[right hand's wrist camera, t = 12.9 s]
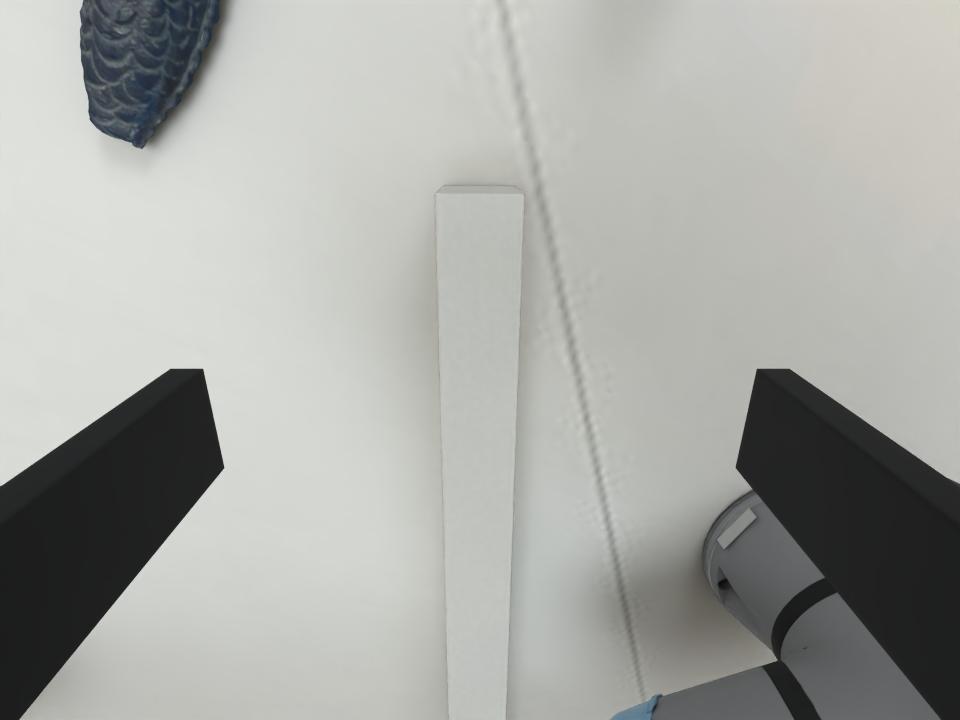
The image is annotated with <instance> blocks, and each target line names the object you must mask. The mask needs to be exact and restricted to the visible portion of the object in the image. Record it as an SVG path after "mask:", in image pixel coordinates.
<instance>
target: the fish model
mask: <svg viewBox="0 0 960 720" xmlns="http://www.w3.org/2000/svg"><path fill="white" fill-rule="evenodd" d="M80 17H81V23H82V25H81V28H80V37H81V41H80V48H81V62H82V66H83V69H84V82H85V88H86V91H87V94H88V100H89V111H88V112H89V116H90V120H91V122H92V123H93V124H94V125H95V127H96V128H97V129H99V130H100V131H101V132H103V133H105V134H107V135H109V136H111V137H114V138H117V139H122V140H124V141H127V142H131V143H132V144H133V146H135V147H137V148H140V149H142V148H143V147H144V146H145V145H146V141H147V139H148V138H149V137H151V136H153V135H154V130H155V128H156V127H157V125H159V124H160V123H162V122H163V121H165V119H166V116H167V113H168V111H169V110H171V109H173V108H174V107H175V106H176V105H178V104H179V102H180V101H181V93H182V92H183V91H185V90H186V89H187V88H188V87H189V86H190V84H191V83H192V77H193V72H194V70H195V69H196V68H197V67H198V66H199V65H200V62H201V54H202V50H203V49H205V48H207V46H208V44H209V42H210V40H211V27H212V25H213V23H215V22H217V21H218V19H219V0H83V5H82V8H81V10H80Z"/></svg>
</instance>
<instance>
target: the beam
mask: <svg viewBox="0 0 960 720" xmlns="http://www.w3.org/2000/svg"><path fill="white" fill-rule="evenodd" d="M524 197H525V195H524V193H523V192H522V191H520V190H519V189H518V188H517V187H516V186H443V187H442V188H441V189H439V190H438V191H437V192H436V193H435V227H436V264H437V302H438V340H439V377H440V415H441V453H442V490H443V528H444V566H445V603H446V641H447V679H448V716H449V720H506V708H507V680H508V651H509V623H510V595H511V566H512V538H513V509H514V481H515V453H516V424H517V396H518V368H519V339H520V311H521V282H522V254H523V226H524Z"/></svg>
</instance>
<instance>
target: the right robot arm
mask: <svg viewBox="0 0 960 720" xmlns="http://www.w3.org/2000/svg"><path fill="white" fill-rule="evenodd" d="M223 469H224V464H223V459H222V455H221V450H220V445H219V441H218V436H217V431H216V427H215V422H214V417H213V413H212V408H211V403H210V399H209V394H208V390H207V385H206V380H205V376H204V371H203V369H170V370H168V371H167V372H165V373H164V374H163V375H161V376H160V377H158V378H157V379H155V380H154V381H152V382H151V383H150V384H148V385H147V386H145V387H144V388H142V389H141V390H139V391H138V392H137V393H135V394H134V395H132V396H131V397H129V398H128V399H126V400H125V401H124V402H122V403H121V404H119V405H118V406H116V407H115V408H113V409H112V410H111V411H109V412H108V413H106V414H105V415H103V416H102V417H100V418H99V419H98V420H96V421H95V422H93V423H92V424H90V425H89V426H88V427H86V428H85V429H83V430H82V431H80V432H79V433H77V434H76V435H75V436H73V437H72V438H70V439H69V440H67V441H66V442H64V443H63V444H62V445H60V446H59V447H57V448H56V449H54V450H53V451H51V452H50V453H49V454H47V455H46V456H44V457H43V458H41V459H40V460H38V461H37V462H36V463H34V464H33V465H31V466H30V467H28V468H27V469H25V470H24V471H23V472H21V473H20V474H18V475H17V476H15V477H14V478H12V479H11V480H10V481H8V482H7V483H5V484H4V485H2V486H0V720H19V719H20V718H21V717H22V715H23V714H24V713H25V712H26V711H27V709H28V708H29V707H30V706H31V704H32V703H33V702H34V701H35V699H36V698H37V697H38V696H39V695H40V693H41V692H42V691H43V690H44V688H45V687H46V686H47V685H48V684H49V682H50V681H51V680H52V679H53V677H54V676H55V675H56V674H57V673H58V671H59V670H60V669H61V668H62V666H63V665H64V664H65V663H66V661H67V660H68V659H69V658H70V657H71V655H72V654H73V653H74V652H75V650H76V649H77V648H78V647H79V646H80V644H81V643H82V642H83V641H84V639H85V638H86V637H87V636H88V635H89V633H90V632H91V631H92V630H93V628H94V627H95V626H96V625H97V623H98V622H99V621H100V620H101V619H102V617H103V616H104V615H105V614H106V612H107V611H108V610H109V609H110V608H111V606H112V605H113V604H114V603H115V601H116V600H117V599H118V598H119V597H120V595H121V594H122V593H123V592H124V590H125V589H126V588H127V587H128V585H129V584H130V583H131V582H132V581H133V579H134V578H135V577H136V576H137V574H138V573H139V572H140V571H141V570H142V568H143V567H144V566H145V565H146V563H147V562H148V561H149V560H150V558H151V557H152V556H153V555H154V554H155V552H156V551H157V550H158V549H159V547H160V546H161V545H162V544H163V543H164V541H165V540H166V539H167V538H168V536H169V535H170V534H171V533H172V532H173V530H174V529H175V528H176V527H177V525H178V524H179V523H180V522H181V520H182V519H183V518H184V517H185V516H186V514H187V513H188V512H189V511H190V509H191V508H192V507H193V506H194V505H195V503H196V502H197V501H198V500H199V498H200V497H201V496H202V495H203V494H204V492H205V491H206V490H207V489H208V487H209V486H210V485H211V484H212V482H213V481H214V480H215V479H216V478H217V476H218V475H219V474H220V473H221V471H222V470H223ZM736 469H737V470H738V471H739V473H740V474H741V475H742V476H743V478H744V479H745V480H746V481H747V482H748V484H749V485H750V486H751V487H752V489H753V490H754V491H753V492H751V493H749V494H747V495H746V496H744V497H743V498H741V499H740V500H738V501H737V502H735V503H734V504H733V505H732V506H731V507H729V508H728V509H727V510H726V511H725V512H724V513H723V514H722V515H721V517H720V518H719V519H718V520H717V521H716V523H715V524H714V526H713V527H712V529H711V531H710V533H709V535H708V537H707V539H706V542H705V546H704V550H703V568H704V572H705V575H706V578H707V580H708V582H709V584H710V585H711V587H712V589H713V591H714V593H715V595H716V596H717V598H718V599H719V601H720V602H721V603H722V604H723V605H724V606H725V608H726V609H727V610H728V611H729V612H730V613H732V614H733V615H734V616H735V617H736V618H737V619H738V620H739V621H740V622H741V623H742V624H743V625H745V626H746V627H747V628H748V629H749V630H750V631H751V632H752V633H753V634H754V635H755V636H756V637H758V638H759V639H760V640H761V641H762V642H763V643H764V644H765V645H766V646H767V647H768V648H770V649H771V650H772V651H773V653H774V655H775V656H776V658H777V660H778V661H776V662H773V663H770V664H766V665H763V666H759V667H756V668H753V669H750V670H746V671H743V672H740V673H737V674H733V675H730V676H727V677H724V678H721V679H717V680H714V681H711V682H708V683H704V684H701V685H698V686H695V687H692V688H688V689H685V690H682V691H679V692H675V693H672V694H669V695H666V696H663V695H662V694H658V695H655V696H653V697H652V698H651V700H650V701H647V702H645V703H642V704H639V705H637V706H634V707H632V708H629V709H627V710H624V711H621V712H619V713H617V714H616V715H614V716H613V717H612V718H611V719H610V720H960V484H959V483H957V482H954V481H952V480H950V479H948V478H946V477H945V476H943V475H942V474H940V473H939V472H937V471H936V470H935V469H933V468H932V467H930V466H929V465H927V464H926V463H924V462H923V461H922V460H920V459H919V458H917V457H916V456H914V455H913V454H911V453H910V452H909V451H907V450H906V449H904V448H903V447H901V446H900V445H898V444H897V443H896V442H894V441H893V440H891V439H890V438H888V437H887V436H885V435H884V434H883V433H881V432H880V431H878V430H877V429H875V428H874V427H872V426H871V425H870V424H868V423H867V422H865V421H864V420H862V419H861V418H860V417H858V416H857V415H855V414H854V413H852V412H851V411H849V410H848V409H847V408H845V407H844V406H842V405H841V404H839V403H838V402H836V401H835V400H834V399H832V398H831V397H829V396H828V395H826V394H825V393H823V392H822V391H821V390H819V389H818V388H816V387H815V386H813V385H812V384H810V383H809V382H808V381H806V380H805V379H803V378H802V377H800V376H799V375H797V374H796V373H795V372H793V371H792V370H790V369H757V371H756V376H755V380H754V385H753V390H752V394H751V399H750V403H749V408H748V413H747V417H746V422H745V427H744V431H743V436H742V441H741V445H740V450H739V455H738V459H737V464H736Z"/></svg>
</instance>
